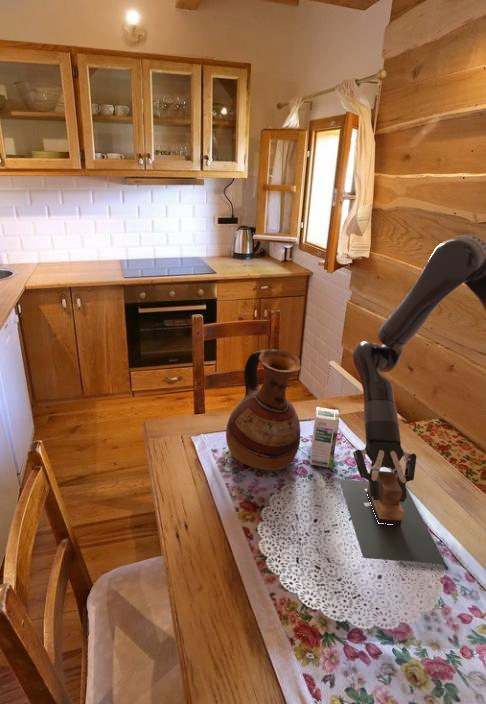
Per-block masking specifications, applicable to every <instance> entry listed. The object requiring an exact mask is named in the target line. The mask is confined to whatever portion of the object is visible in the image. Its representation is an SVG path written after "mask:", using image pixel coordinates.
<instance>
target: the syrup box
mask: <svg viewBox="0 0 486 704" xmlns="http://www.w3.org/2000/svg"><path fill="white" fill-rule="evenodd" d="M339 425H340V413H339V409H332V408H325V407H321V406H316V408H315V415H314V422H313V429H312V438H311V445H310V457H309V465H310V466H319V467H323V468H328V469H332V468H333V465H334V457H335V451H336V445H337V440H338V439H337V438H338V432H339Z"/></svg>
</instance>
